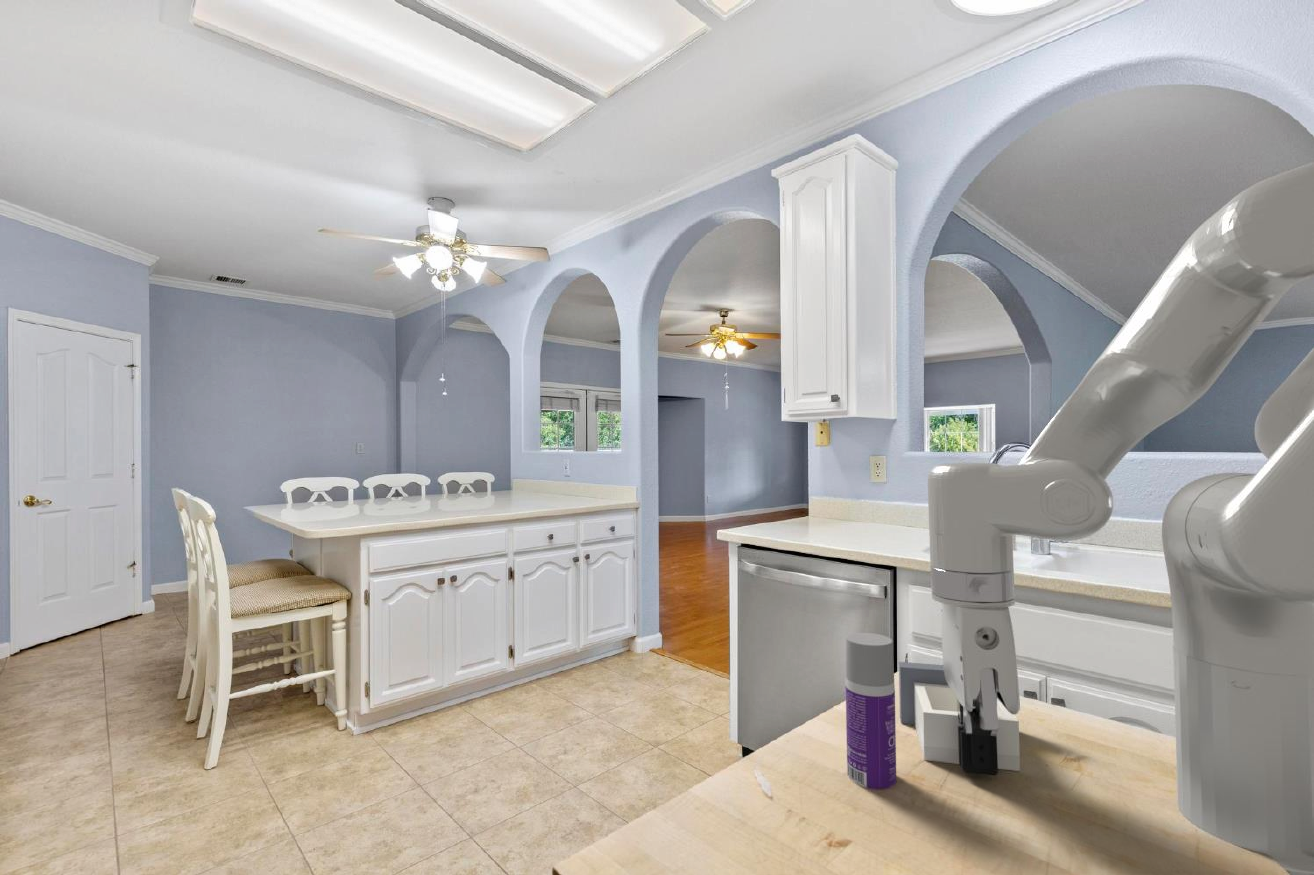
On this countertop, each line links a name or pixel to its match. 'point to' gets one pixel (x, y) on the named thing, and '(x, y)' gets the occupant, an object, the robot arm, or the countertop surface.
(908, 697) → the track
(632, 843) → the countertop surface
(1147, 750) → the countertop surface
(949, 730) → the socket block
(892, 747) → the container
